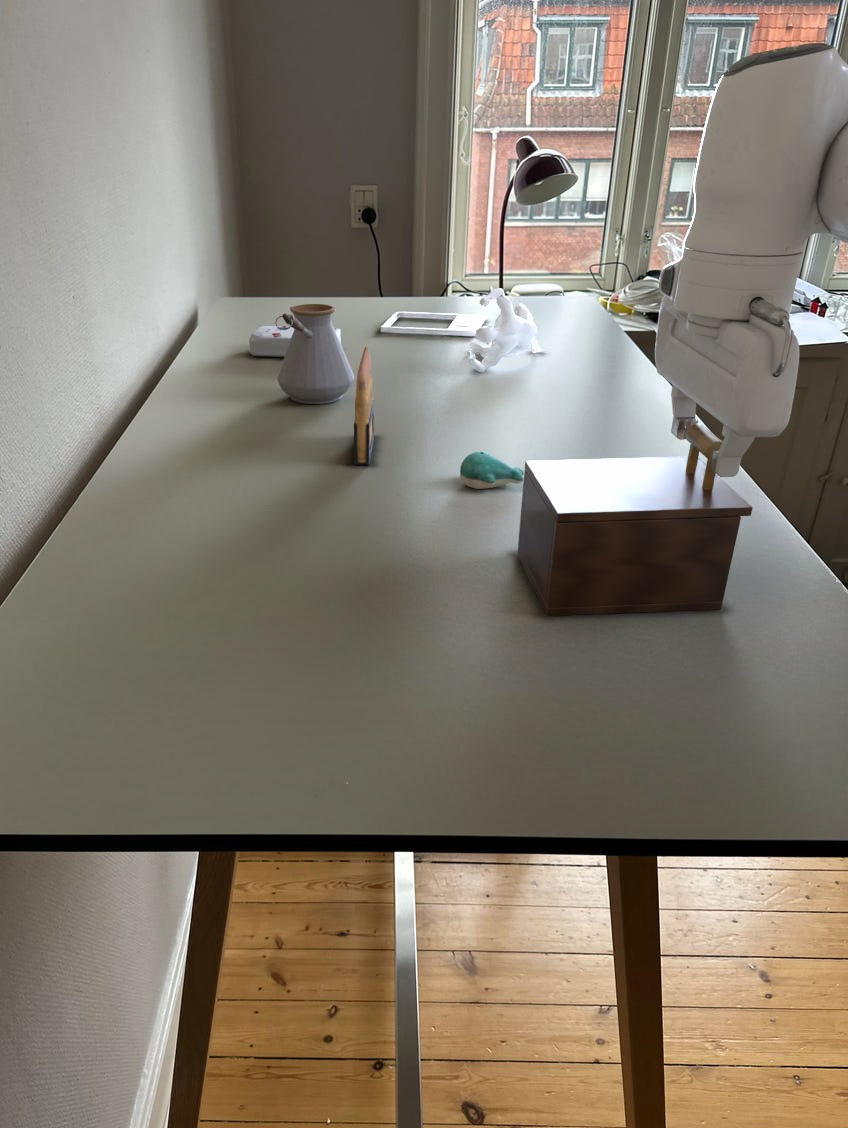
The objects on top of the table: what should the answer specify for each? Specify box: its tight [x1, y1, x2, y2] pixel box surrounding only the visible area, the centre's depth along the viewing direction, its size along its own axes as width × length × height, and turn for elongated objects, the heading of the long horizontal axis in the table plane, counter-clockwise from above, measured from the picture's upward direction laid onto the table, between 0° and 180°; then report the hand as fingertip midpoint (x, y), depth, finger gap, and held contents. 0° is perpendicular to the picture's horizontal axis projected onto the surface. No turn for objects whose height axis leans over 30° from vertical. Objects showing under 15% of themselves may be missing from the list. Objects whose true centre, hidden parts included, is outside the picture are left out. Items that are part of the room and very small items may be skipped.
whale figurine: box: [459, 450, 524, 490], centre depth 106 cm, size 6×7×4 cm
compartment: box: [517, 469, 742, 617], centre depth 84 cm, size 16×13×9 cm
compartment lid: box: [524, 422, 753, 522], centre depth 80 cm, size 16×13×5 cm
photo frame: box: [380, 311, 486, 337], centre depth 179 cm, size 15×1×18 cm
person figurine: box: [465, 287, 543, 373], centre depth 152 cm, size 13×13×18 cm
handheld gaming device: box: [248, 325, 342, 358], centre depth 160 cm, size 9×15×4 cm, turn 80°
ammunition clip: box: [353, 346, 375, 466], centre depth 114 cm, size 11×2×12 cm, turn 176°
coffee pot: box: [274, 303, 355, 405], centre depth 130 cm, size 21×12×15 cm, turn 169°
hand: (701, 454), depth 80 cm, fingers open, 8 cm apart
